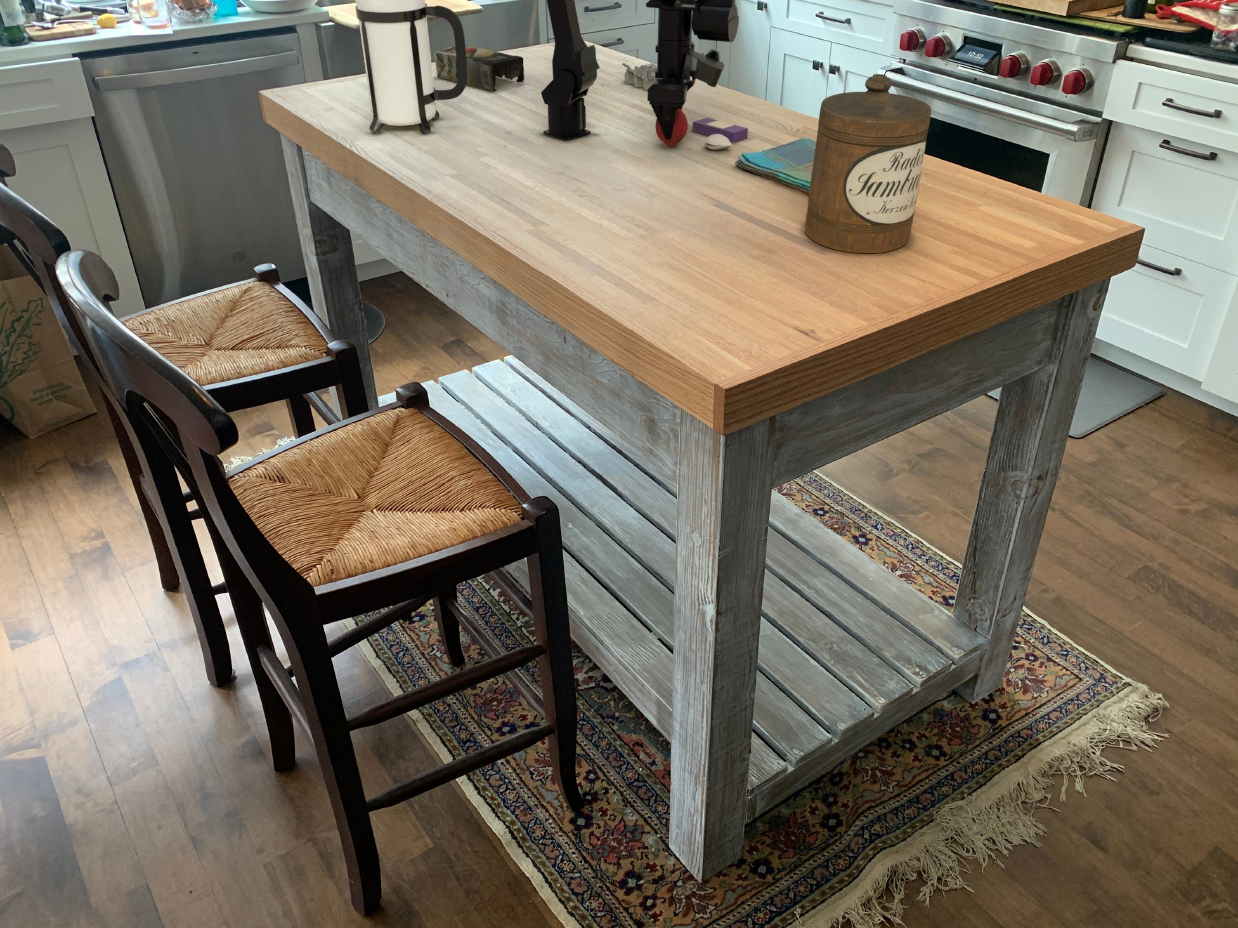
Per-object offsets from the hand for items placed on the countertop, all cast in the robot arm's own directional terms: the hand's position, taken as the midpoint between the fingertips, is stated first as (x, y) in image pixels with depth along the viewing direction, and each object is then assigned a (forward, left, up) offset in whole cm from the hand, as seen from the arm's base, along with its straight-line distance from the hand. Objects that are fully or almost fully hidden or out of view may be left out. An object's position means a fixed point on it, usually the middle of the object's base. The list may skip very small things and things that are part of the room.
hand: (671, 131), depth 175 cm
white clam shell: (+5, -7, -3) cm, 9 cm away
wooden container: (-11, -47, -3) cm, 48 cm away
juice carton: (+5, +62, -3) cm, 62 cm away
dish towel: (+6, -28, -3) cm, 29 cm away
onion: (0, 0, -3) cm, 3 cm away
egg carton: (+29, +34, -3) cm, 45 cm away
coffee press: (-25, +44, -3) cm, 51 cm away
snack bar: (+12, -1, -3) cm, 12 cm away
